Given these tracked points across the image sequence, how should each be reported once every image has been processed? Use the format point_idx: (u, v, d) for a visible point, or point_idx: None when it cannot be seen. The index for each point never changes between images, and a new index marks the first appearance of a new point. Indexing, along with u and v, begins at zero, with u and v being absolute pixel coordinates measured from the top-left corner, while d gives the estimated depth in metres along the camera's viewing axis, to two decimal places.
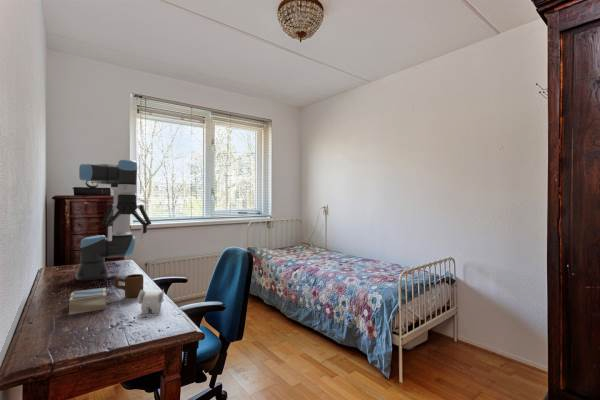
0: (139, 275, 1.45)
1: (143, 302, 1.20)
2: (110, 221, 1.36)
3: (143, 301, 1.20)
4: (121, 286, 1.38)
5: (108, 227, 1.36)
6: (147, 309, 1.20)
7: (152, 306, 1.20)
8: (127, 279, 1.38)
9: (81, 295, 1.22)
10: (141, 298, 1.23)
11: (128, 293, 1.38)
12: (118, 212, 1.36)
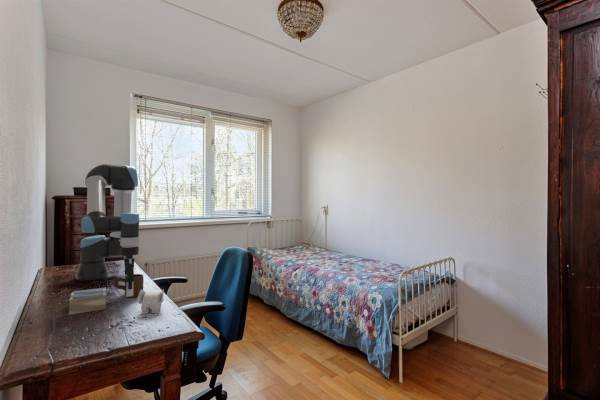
0: (139, 275, 1.45)
1: (143, 302, 1.20)
2: (125, 270, 1.45)
3: (143, 301, 1.20)
4: (121, 286, 1.38)
5: None
6: (147, 309, 1.20)
7: (152, 306, 1.20)
8: None
9: (81, 295, 1.22)
10: (141, 298, 1.23)
11: None
12: (124, 263, 1.42)
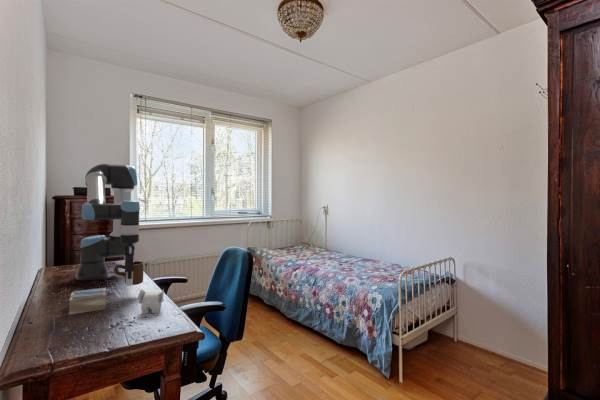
0: (139, 262, 1.45)
1: (143, 302, 1.20)
2: (125, 261, 1.43)
3: (143, 301, 1.20)
4: (121, 273, 1.39)
5: None
6: (147, 309, 1.20)
7: (152, 306, 1.20)
8: None
9: (81, 295, 1.22)
10: (141, 298, 1.23)
11: None
12: None
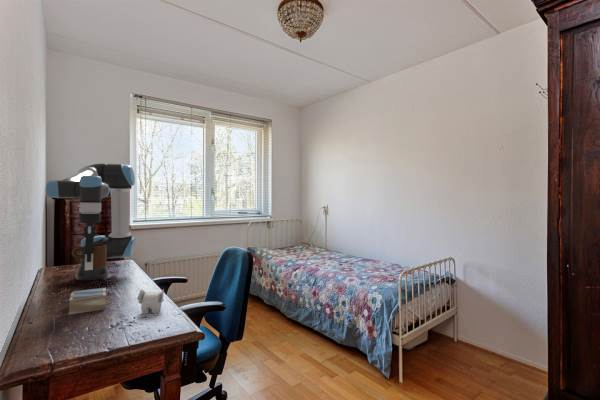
0: (102, 245, 1.31)
1: (143, 302, 1.20)
2: None
3: (143, 301, 1.20)
4: (80, 256, 1.24)
5: None
6: (147, 309, 1.20)
7: (152, 306, 1.20)
8: None
9: (81, 295, 1.22)
10: (141, 298, 1.23)
11: None
12: None
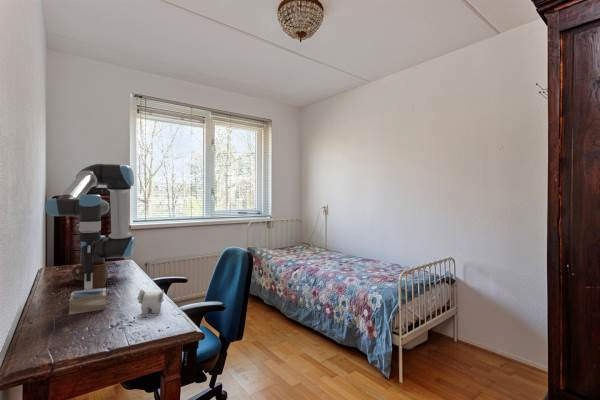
0: (102, 263, 1.31)
1: (143, 302, 1.20)
2: None
3: (143, 301, 1.20)
4: (80, 275, 1.24)
5: None
6: (147, 309, 1.20)
7: (152, 306, 1.20)
8: None
9: (81, 295, 1.22)
10: (141, 298, 1.23)
11: None
12: None
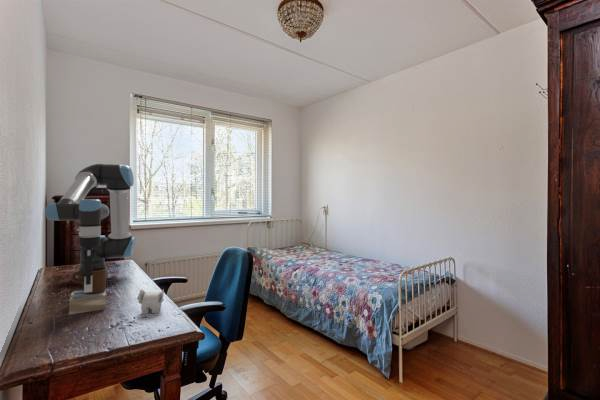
0: (102, 269, 1.31)
1: (143, 302, 1.20)
2: None
3: (143, 301, 1.20)
4: (80, 280, 1.24)
5: None
6: (147, 309, 1.20)
7: (152, 306, 1.20)
8: None
9: (81, 295, 1.22)
10: (141, 298, 1.23)
11: None
12: None
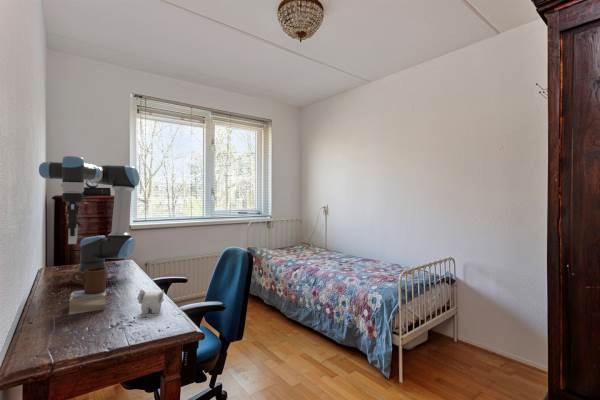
0: (102, 269, 1.31)
1: (143, 302, 1.20)
2: None
3: (143, 301, 1.20)
4: (80, 281, 1.24)
5: None
6: (147, 309, 1.20)
7: (152, 306, 1.20)
8: (86, 273, 1.24)
9: (81, 295, 1.22)
10: (141, 298, 1.23)
11: (88, 289, 1.24)
12: None
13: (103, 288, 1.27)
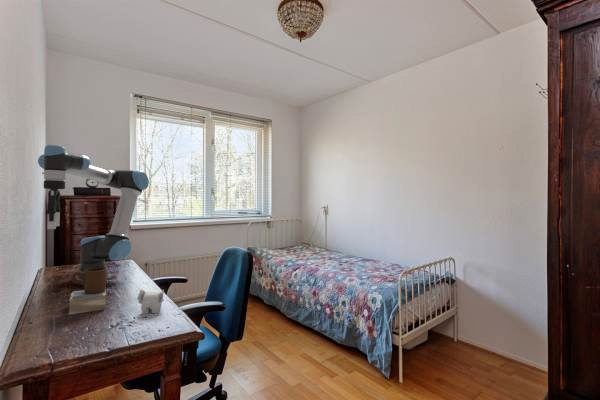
0: (102, 269, 1.31)
1: (143, 302, 1.20)
2: None
3: (143, 301, 1.20)
4: (80, 281, 1.24)
5: None
6: (147, 309, 1.20)
7: (152, 306, 1.20)
8: (86, 273, 1.24)
9: (81, 295, 1.22)
10: (141, 298, 1.23)
11: (88, 289, 1.24)
12: None
13: (103, 288, 1.27)
